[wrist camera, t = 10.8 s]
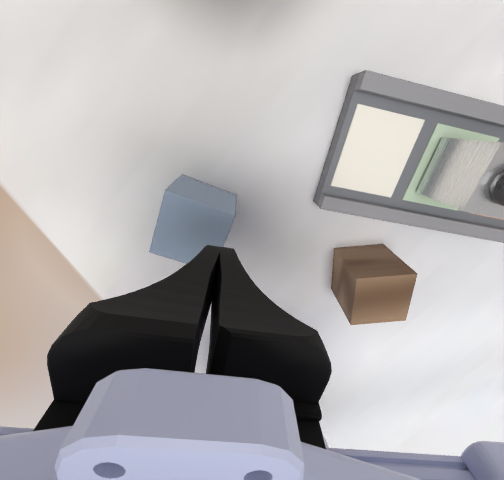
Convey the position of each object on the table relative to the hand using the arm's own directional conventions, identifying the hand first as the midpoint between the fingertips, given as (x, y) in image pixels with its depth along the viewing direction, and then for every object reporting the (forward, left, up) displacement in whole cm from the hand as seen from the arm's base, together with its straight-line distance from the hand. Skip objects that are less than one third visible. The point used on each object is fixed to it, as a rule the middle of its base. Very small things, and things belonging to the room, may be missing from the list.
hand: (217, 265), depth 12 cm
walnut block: (-4, -13, -10) cm, 17 cm away
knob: (+6, -16, -8) cm, 19 cm away
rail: (+6, -16, -10) cm, 20 cm away
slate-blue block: (-1, +2, -10) cm, 10 cm away
